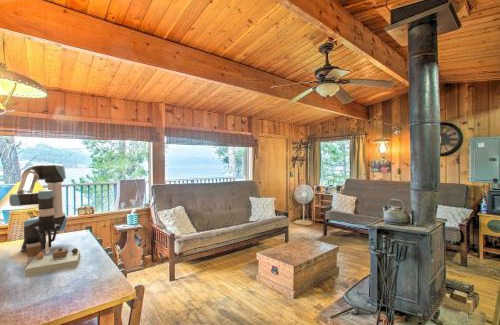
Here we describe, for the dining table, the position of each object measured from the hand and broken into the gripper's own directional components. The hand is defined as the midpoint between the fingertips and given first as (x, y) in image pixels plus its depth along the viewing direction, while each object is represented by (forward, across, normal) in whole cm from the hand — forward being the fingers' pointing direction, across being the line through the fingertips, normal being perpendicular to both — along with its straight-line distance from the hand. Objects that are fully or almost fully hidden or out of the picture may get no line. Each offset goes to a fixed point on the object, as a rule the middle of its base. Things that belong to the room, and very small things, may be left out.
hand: (47, 253), depth 161 cm
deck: (+9, +3, +1) cm, 10 cm away
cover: (+5, +5, +8) cm, 11 cm away
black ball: (+3, +14, +6) cm, 15 cm away
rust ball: (+3, -5, +8) cm, 10 cm away
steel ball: (+7, +5, 0) cm, 9 cm away
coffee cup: (+10, -10, +19) cm, 24 cm away
